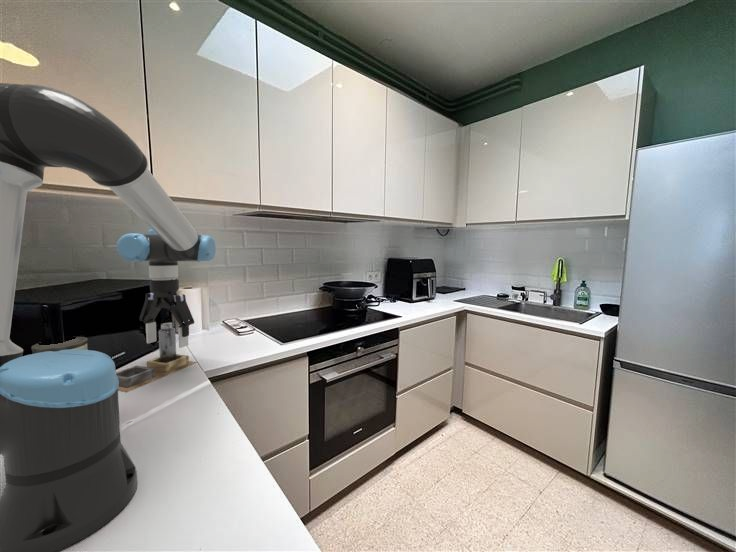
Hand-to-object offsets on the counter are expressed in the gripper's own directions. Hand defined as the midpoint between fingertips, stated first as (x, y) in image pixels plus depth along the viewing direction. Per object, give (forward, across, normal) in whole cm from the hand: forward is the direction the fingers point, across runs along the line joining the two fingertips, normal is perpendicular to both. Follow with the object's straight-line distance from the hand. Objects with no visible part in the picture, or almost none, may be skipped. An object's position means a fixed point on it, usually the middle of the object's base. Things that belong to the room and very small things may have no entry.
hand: (167, 344), depth 92 cm
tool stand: (+9, 0, +6) cm, 10 cm away
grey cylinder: (+7, 0, 0) cm, 7 cm away
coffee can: (+9, +13, +20) cm, 25 cm away
